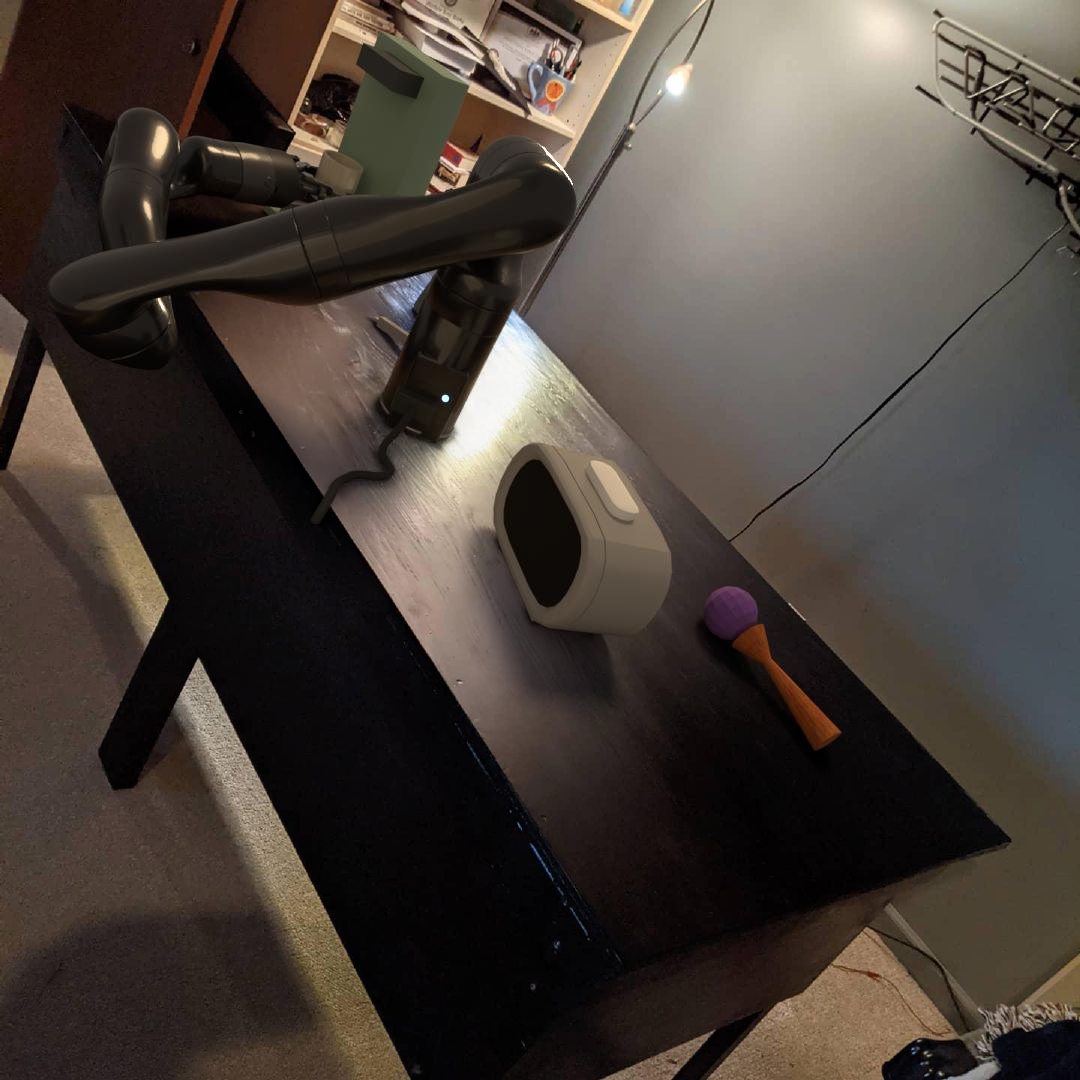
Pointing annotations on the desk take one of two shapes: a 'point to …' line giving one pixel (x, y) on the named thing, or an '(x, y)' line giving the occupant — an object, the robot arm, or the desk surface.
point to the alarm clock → (580, 542)
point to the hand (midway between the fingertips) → (344, 190)
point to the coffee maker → (399, 118)
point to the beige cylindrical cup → (339, 172)
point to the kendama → (764, 657)
